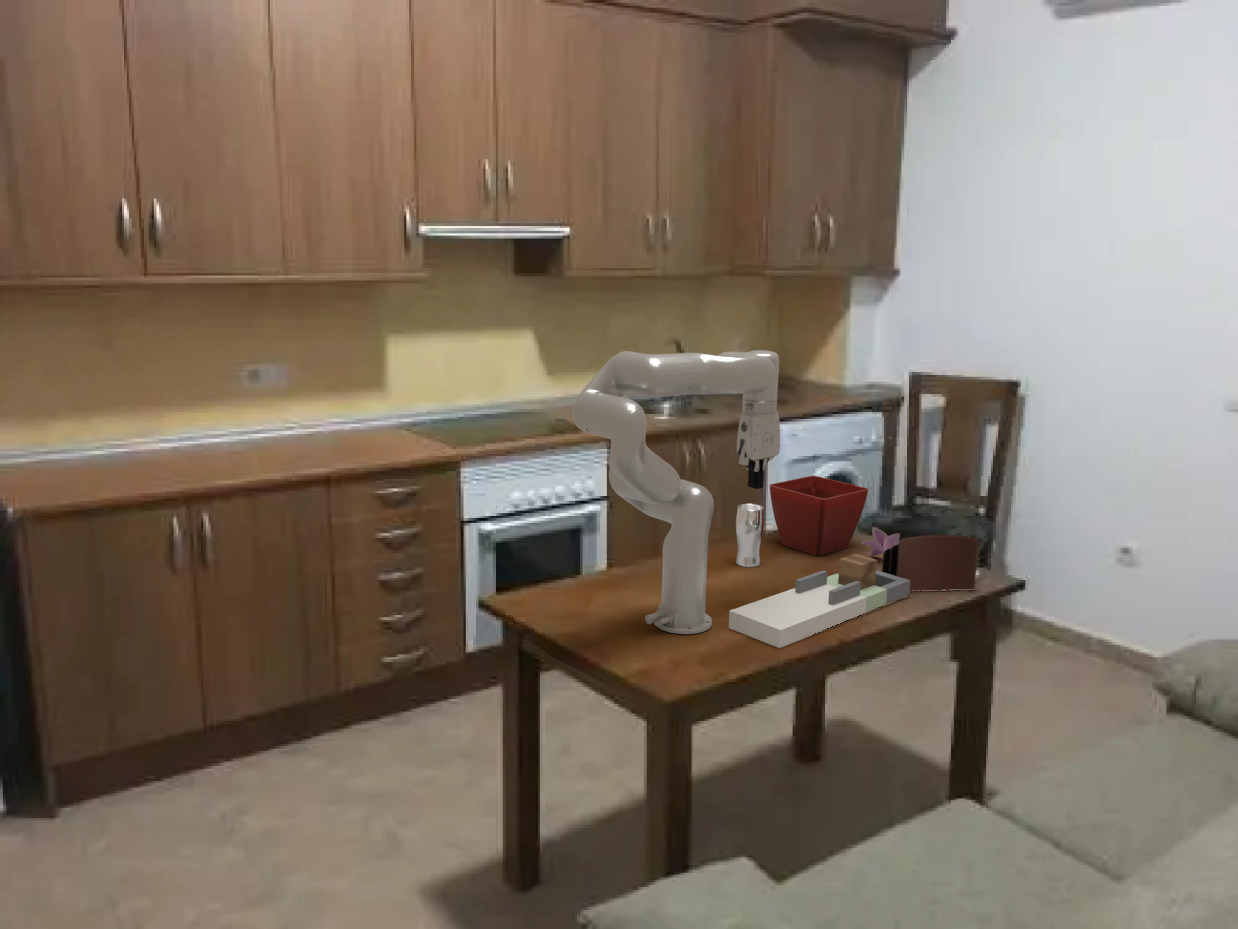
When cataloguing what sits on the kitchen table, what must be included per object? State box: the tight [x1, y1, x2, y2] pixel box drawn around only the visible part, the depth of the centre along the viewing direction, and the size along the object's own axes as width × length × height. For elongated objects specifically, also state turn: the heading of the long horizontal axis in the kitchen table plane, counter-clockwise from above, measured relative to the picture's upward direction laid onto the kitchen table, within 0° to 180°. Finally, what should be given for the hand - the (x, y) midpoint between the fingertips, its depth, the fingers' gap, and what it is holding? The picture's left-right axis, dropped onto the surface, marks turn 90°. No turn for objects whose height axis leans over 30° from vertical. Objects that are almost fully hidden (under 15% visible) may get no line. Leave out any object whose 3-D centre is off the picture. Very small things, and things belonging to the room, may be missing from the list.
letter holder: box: [881, 534, 980, 591], centre depth 254 cm, size 10×20×14 cm, turn 96°
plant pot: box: [769, 475, 869, 556], centre depth 282 cm, size 19×19×17 cm
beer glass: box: [735, 503, 765, 568], centre depth 267 cm, size 7×7×15 cm
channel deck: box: [728, 569, 911, 649], centre depth 236 cm, size 48×14×7 cm, turn 132°
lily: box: [860, 526, 901, 557], centre depth 270 cm, size 12×12×10 cm
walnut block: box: [838, 553, 878, 590], centre depth 243 cm, size 6×6×6 cm
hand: (755, 487), depth 236 cm, fingers closed
